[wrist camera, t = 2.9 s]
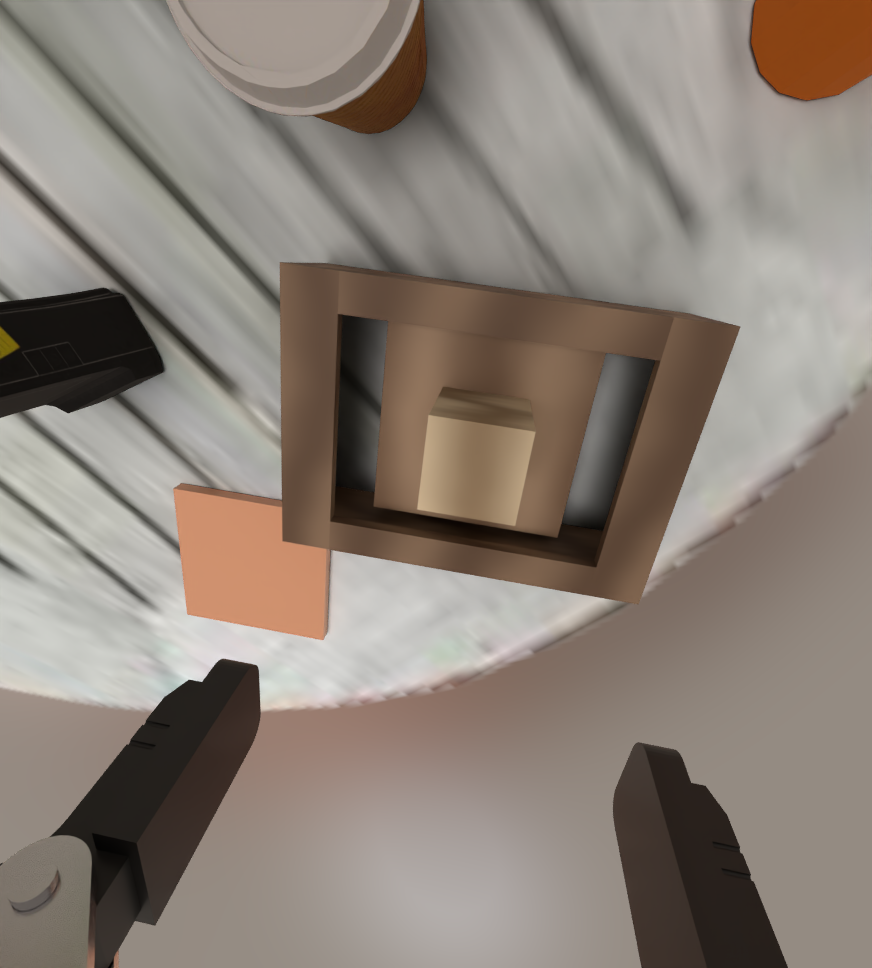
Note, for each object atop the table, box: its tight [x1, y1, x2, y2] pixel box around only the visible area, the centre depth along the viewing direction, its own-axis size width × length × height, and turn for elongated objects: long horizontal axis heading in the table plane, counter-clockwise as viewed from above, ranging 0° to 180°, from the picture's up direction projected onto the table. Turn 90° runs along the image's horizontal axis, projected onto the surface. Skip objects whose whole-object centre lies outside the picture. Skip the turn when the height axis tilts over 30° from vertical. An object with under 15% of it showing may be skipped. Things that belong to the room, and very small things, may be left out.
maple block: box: [417, 387, 536, 526], centre depth 26 cm, size 5×5×6 cm
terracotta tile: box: [173, 483, 330, 640], centre depth 40 cm, size 12×12×1 cm
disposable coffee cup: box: [166, 0, 427, 134], centre depth 21 cm, size 10×10×12 cm
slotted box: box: [280, 262, 740, 604], centre depth 30 cm, size 22×16×7 cm
